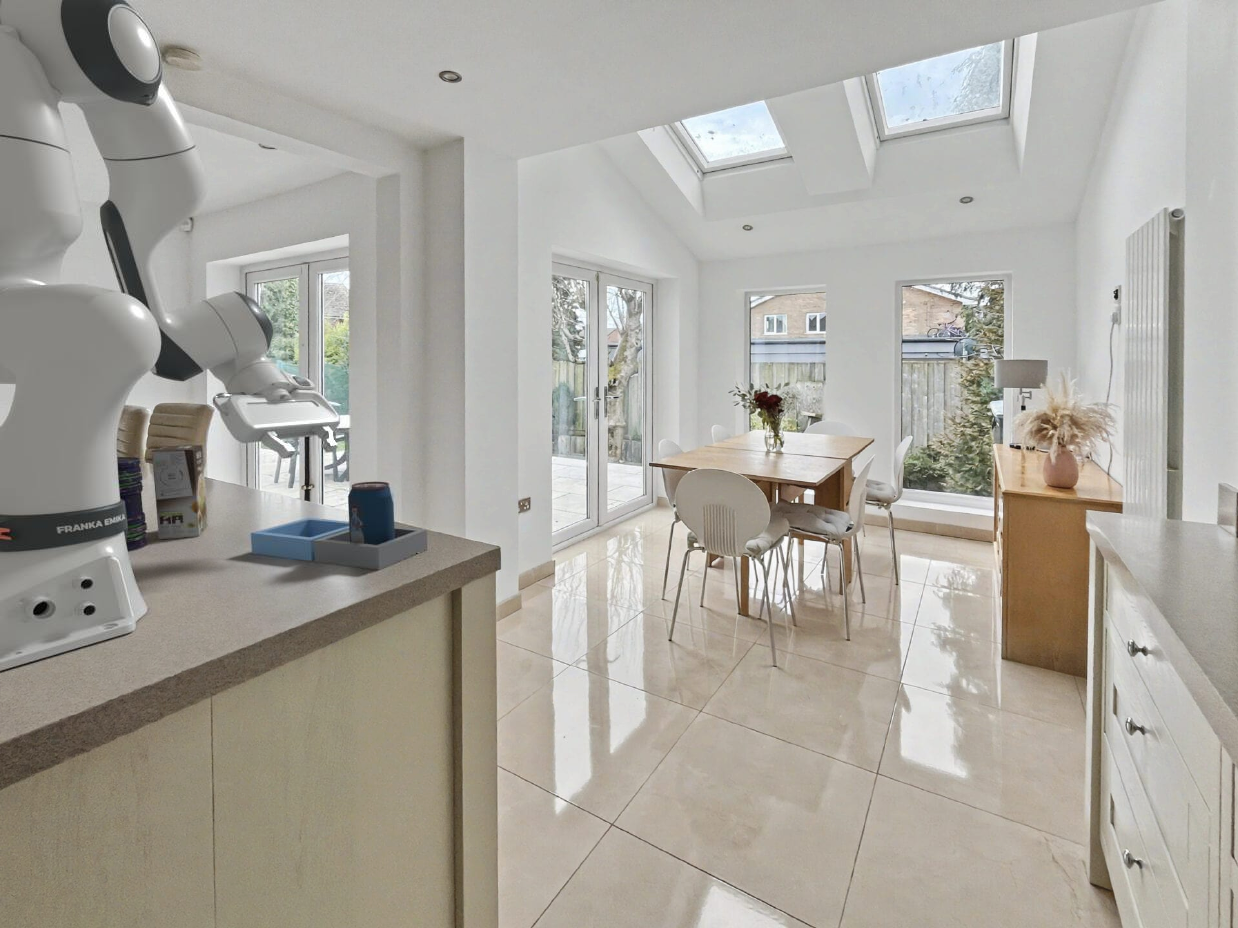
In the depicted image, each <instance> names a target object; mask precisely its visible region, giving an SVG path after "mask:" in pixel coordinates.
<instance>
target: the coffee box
mask: <svg viewBox="0 0 1238 928" xmlns="http://www.w3.org/2000/svg"><path fill="white" fill-rule="evenodd" d="M151 455H152V456H151V457H152V469H153V470H152V472H153V483H154V494H155V505H156V507H155V508H156V518H157V532H158V539H159V540H165V539H166V540H167V539H180V538H195V537H200V536H201V534H202V533H203V532H204V531H205V530H206V529H207V528H208V526H209V523H208V521H209V520H208V507H207V494H206V493H207V492H206V480H205V479H206V478H205V468H204V467H205V465H204V451H203V444H189V445H188V444H187V445H186V444H185V445H166V446H165V445H164V446H162V447H158V448H156V449H153V450H151Z"/></svg>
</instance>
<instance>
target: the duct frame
mask: <svg viewBox="0 0 1238 928" xmlns="http://www.w3.org/2000/svg"><path fill="white" fill-rule="evenodd" d="M394 530H395V539H393V540H390V541H387V542H385V543H382V544H379V545H371V544H362V543H353V542H350V533H349V521H347V520H346V521H345V520H337V519H334V520H333V519H324V518H315V517H307V518H303V519H299V520H294V521H291V522H287V523H283V524H279V525H276V526H272V527H268V528H264V529H261V530H256V531H254V532H250V542H251V543H250V545H251V554H253V555H260V554H261V556H269V557H274V558H284V559H292V560H298V561H299V560H300V561H306V562H313V561H314V562H315V563H323V564H331V565H338V566H339V565H340V566H344V567H354V568H360V569H361V568H362V569H369V570H376V571H380V570H383V569H384V568H388V567H391V566H392V565H395V564H396V563H397V564H398V563H399V562H402V561H403V560H406V559H405V558H407V559H408V558H411V557H413V556H412V555H414V554H416V553H418V552H421V551H423V550H426V549H428V530H427V529H423V528H412V527H403V526H395V525H394ZM426 551H427V550H426ZM423 552H424V551H423ZM421 553H422V552H421ZM418 554H419V553H418ZM416 555H417V554H416ZM410 556H411V557H410ZM414 556H415V555H414ZM401 560H402V561H401ZM398 561H399V562H398ZM394 563H395V564H394Z"/></svg>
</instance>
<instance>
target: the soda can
mask: <svg viewBox="0 0 1238 928" xmlns="http://www.w3.org/2000/svg"><path fill="white" fill-rule="evenodd" d="M347 503H348V505H347V506H348V507H347V508H348V522H349V533H350V542H353V543H362V544H371V545H379V544H382V543H385V542H387V541H390V540H393V539H395V530H394V526H395V509H394V507H395V505H394V492H393V491H392V488H391V487H390V483H389V482H387V481H364V482H363V481H362V482H356V483H353V484H351V490H350V491H349V494H348V496H347Z"/></svg>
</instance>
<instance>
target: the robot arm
mask: <svg viewBox="0 0 1238 928" xmlns="http://www.w3.org/2000/svg"><path fill="white" fill-rule="evenodd" d="M162 78H163V61H162V55H161V51H160V48H159V45H158V42H157V39H156V37H155V36H154V33H153V31H152V29H151V28H150V26H149V25H148V23H147V22H146V21H145V19H144V18H143V17H142V16H141V15H140V14H139V13H138V11H136V10H135V9H134V8H133V6H131V4H130V3H128V2H127V1H126V0H0V385H15V389H14V395H13V399H12V402H11V406H10V408H9V409H10V410H9V411H8V414H7V417H6V418H5V420H4V421H3V423H2V425H0V672H1V671H4V670H7V669H10V668H11V669H12V668H13V667H17V666H20V665H24V664H27V663H30V662H34V661H37V660H42V659H45V658H48V657H51V656H54V655H59V654H62V653H65V652H68V651H72V650H75V649H78V648H82V647H85V646H89V645H92V644H95V643H98V642H103V641H105V640H108V639H112V638H116V637H119V636H123V635H127V634H128V633H131V632H133V631H135V630H136V628H137V624H136V623H137V621H138V620H139V619H141V618H142V617H143V616H144V615H145V614H146V613H147V612H148V605H147V604H146V602H145V600H144V598H143V596H142V594H141V592H140V588H139V587H138V584H137V582H136V578H135V577H136V576H135V575H134V572H133V567H132V564H131V561H130V556H129V552H128V550H127V545H126V540H127V532H128V525H127V515H126V508H125V501H123V500H122V499H120V492H119V480H118V464H117V457H118V449H117V446H118V445H117V442H118V440H117V439H118V431H119V426H120V422H121V416H122V415H123V410H124V408H125V405H126V403H127V400H128V397H129V396H130V394H131V392H132V390H133V388H134V387H135V385H136V384H137V383H138V381H140V380H141V379H142V377H144V376H145V375H146V374H147V373H149V372H150V373H151V374H153V375H154V376H156V377H160V378H162V379H165V380H166V379H167V380H171V381H176V382H186V381H188V380H189V379H192V378H194V377H196V376H198V375H200V374H203V373H204V372H205V371H206V370H209V372H210V374H212V375H213V377H214V378H216V379H217V380H219V381H220V382H221V383H222V384H223V386H224V387H225V388H224V389H225V391H226V392H227V393H226V392H218V393H216V395H215V396H213V397H212V404H213V406H214V407H215V408H216V409H217V411H218V412H219V415H220V418H221V420H222V422H223V423H224V425H225V427H226V429H227V430H228V432H229V433H230V434H231V436H232V437H233V439H235V440H236V441H237V442H240V443H242V444H248V443H249V444H250V443H251V444H252V443H259V442H260V443H262V445H263V446H265V447H266V448H268V449H269V450H272V451H274V452H275V453H277V454H278V456H279V457H280V458H281V459H283V460H284V459H291V458H292V457H293V455H295V453H296V450H295V449H294V447H293V446H292V445H291V444H290V443H285V442H283V441H282V440H286V439H287V440H288V439H297V438H304V437H316V436H317V437H318V439H322V442H323V443H322V445H321V448H322V449H323V450H324V452H325V453H331V452H335V451H336V450H337V449H338V448H339V445H338V443H337V442H336V441H335V440H334V436H333V433H334V432H335V430H336V429H337V428H338V427H339V426H340V424H341V416H340V415H339V414H338V412H337V411H336V410H335V408H334V407H333V406H332V405H331V403H330V402H329V401H328V400H327V399H326V398H325V396H323V395H322V394H321V393H320V392H318V391H316V390H315V388H316V384H315V383H314V382H313V381H312V380H311V379H309V378H306V377H303V376H302V377H301V376H298V375H296V374H291V373H290V372H288V371H285V370H282V369H279V368H278V366H277V365H276V364H275V363H274V362H272V361H271V360H269V359H268V357H267V354H266V352H269V350H270V347H271V344H272V339H273V335H274V327H273V324H272V321H271V320H270V318H269V316H268V315H267V313H266V312H265V311H264V309H263V308H262V307H261V306H260V304H259V303H258V302H257V301H256V300H255V299H253V298H252V297H250V296H248V295H246V294H244V293H241V292H238V291H231V292H225V293H222V294H220V295H218V294H217V295H215V296H212V297H210V298H207V299H202V301H199V302H196V303H193V304H190V305H187V306H183V307H181V308H178V309H177V308H176V309H175V310H172V311H171V310H170V311H166V310H165V306H164V303H163V300H162V296H161V294H160V290H159V286H158V283H157V280H156V276H155V272H154V269H153V264H152V261H153V260H152V259H153V255H154V252H155V250H156V248H157V246H159V244H160V243H161V242H162V241H163V240H164V239H165V237H167V236H168V235H169V234H170V233H172V232H173V231H174V230H175V229H177V228H178V227H179V226H181V225H182V224H184V223H185V222H186V221H188V220H189V219H191V217H193V215H194V214H195V213H196V212H197V211H198V210H199V209H200V207H201V206H202V204H203V202H204V200H205V199H206V195H207V192H208V187H209V183H208V177H207V173H206V169H205V167H204V163H203V161H202V158H201V155H200V152H199V149H198V148H197V146H196V142H195V141H194V138H193V136H192V134H191V131H190V129H189V128H188V127H189V126H188V125H187V123H186V121H185V119H184V117H183V114H182V113H181V111H180V109H179V107H178V106H177V105H178V104H177V103H176V102H175V100H174V98H173V97H172V95H171V93H170V91H169V90H168V88H167V86H166V84H165V83H164V81H163V80H162ZM60 102H61V103H62V102H63V103H65V104H75V105H76V106H77V107H78V108H79V109H80V110H81V111H82V113H83V117H84V118H85V121H86V124H87V127H88V130H89V132H90V133H91V136H92V138H93V140H94V143H95V145H96V148H97V149H98V151H99V154H100V156H101V158H102V160H103V162H104V165H105V167H106V170H107V174H108V180H109V181H108V182H109V183H108V185H109V190H108V197H107V200H106V201H105V202H104V203H102V205H101V206H100V208H99V217H100V219H99V220H100V225H101V229H102V233H103V237H104V240H105V241H104V242H105V244H106V248H107V251H108V255H109V257H110V261H111V264H112V267H113V271H114V273H115V277H116V280H117V283H118V286H119V290H120V291H116V290H112V289H109V288H105V287H99V286H95V285H90V284H83V283H61V284H60V282H59V281H60V274H61V267H62V263H63V261H64V257H65V255H66V254H67V251H68V249H69V248H70V247H71V246H72V245H73V244H74V243H75V242H76V241H77V240H78V239H79V237H80V236H81V234H82V232H83V226H84V220H83V214H82V210H81V204H80V198H79V194H78V189H77V188H78V187H77V183H76V178H75V172H74V167H73V161H72V155H71V153H70V152H71V151H70V146H69V142H68V138H67V134H66V133H67V132H66V130H65V127H64V126H65V125H64V122H63V118H62V116H61V112H60V109H59V103H60Z"/></svg>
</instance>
